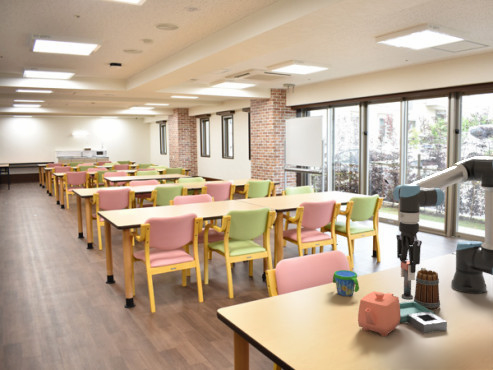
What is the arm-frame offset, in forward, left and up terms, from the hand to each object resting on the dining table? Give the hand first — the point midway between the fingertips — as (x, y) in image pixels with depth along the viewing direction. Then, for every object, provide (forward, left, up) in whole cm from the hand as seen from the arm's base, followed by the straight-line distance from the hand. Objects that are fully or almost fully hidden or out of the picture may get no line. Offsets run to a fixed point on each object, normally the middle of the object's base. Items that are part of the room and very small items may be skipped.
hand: (407, 278), depth 170 cm
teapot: (+19, +9, -16) cm, 26 cm away
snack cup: (+13, -29, -16) cm, 35 cm away
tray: (0, 0, -16) cm, 16 cm away
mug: (-15, -8, -16) cm, 23 cm away
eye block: (0, +12, -16) cm, 20 cm away
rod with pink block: (0, 0, -8) cm, 8 cm away
